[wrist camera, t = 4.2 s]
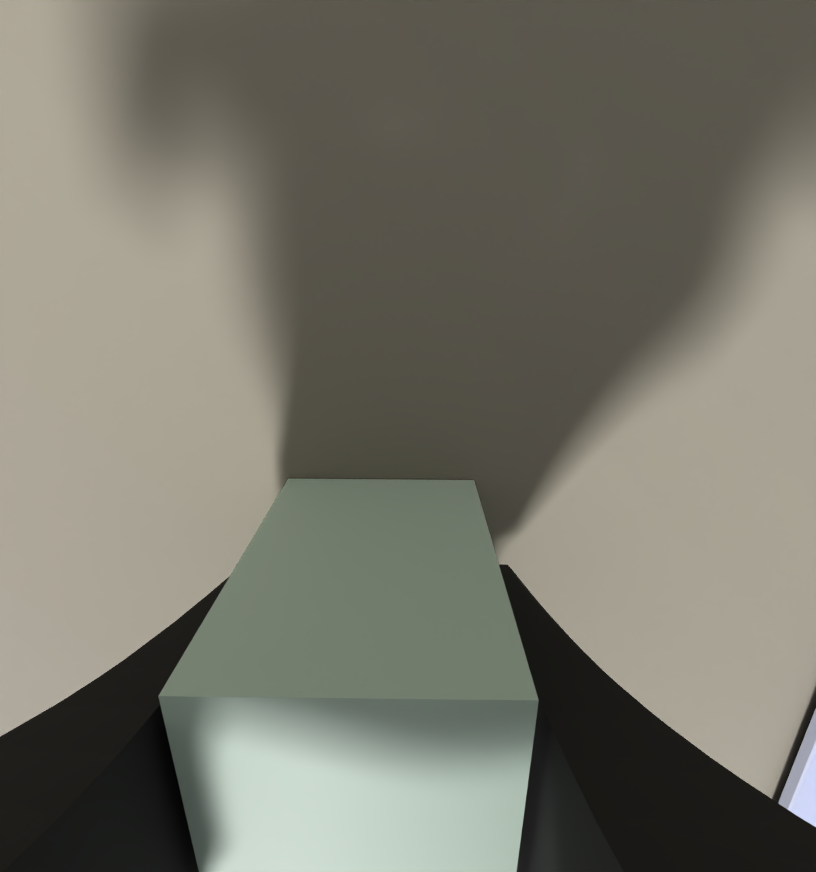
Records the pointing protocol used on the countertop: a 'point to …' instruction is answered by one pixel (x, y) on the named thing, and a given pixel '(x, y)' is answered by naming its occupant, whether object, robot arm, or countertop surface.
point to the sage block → (357, 690)
